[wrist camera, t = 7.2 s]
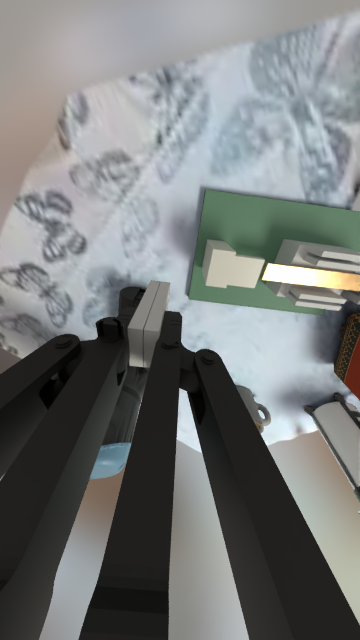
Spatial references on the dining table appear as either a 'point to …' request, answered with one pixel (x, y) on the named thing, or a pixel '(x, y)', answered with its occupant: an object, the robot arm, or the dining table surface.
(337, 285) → the golden metal bar
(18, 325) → the dining table surface
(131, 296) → the end cap
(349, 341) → the decorative box
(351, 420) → the coffee press
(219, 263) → the cream white stepped block
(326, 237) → the green white block assembly
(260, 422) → the coffee mug
